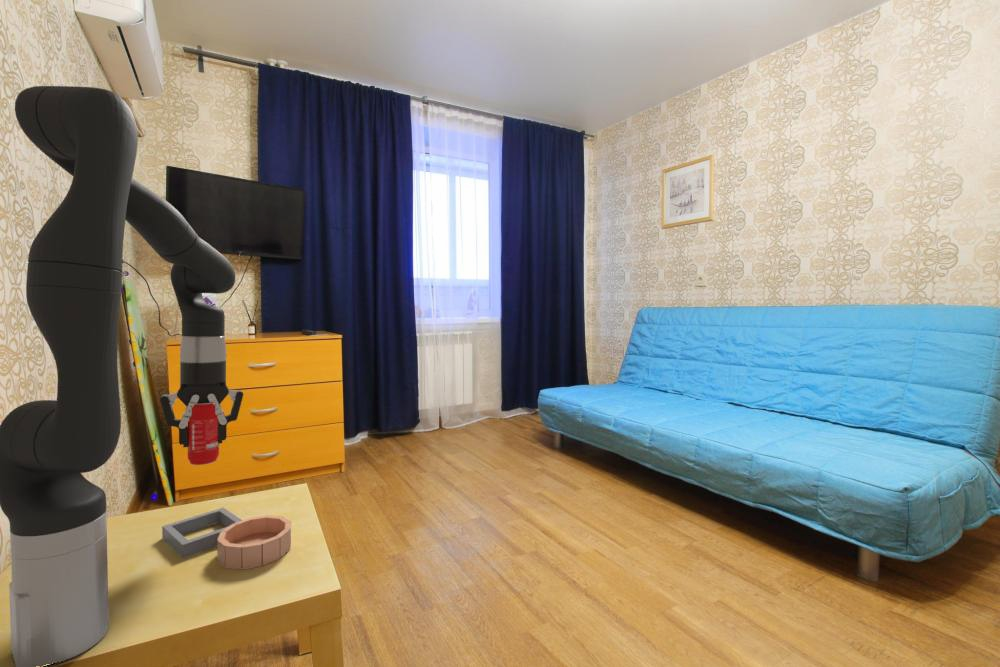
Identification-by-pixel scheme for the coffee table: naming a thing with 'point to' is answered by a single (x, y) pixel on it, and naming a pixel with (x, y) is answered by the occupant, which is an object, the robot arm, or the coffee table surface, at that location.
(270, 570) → the coffee table surface
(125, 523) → the coffee table surface
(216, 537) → the rectangular frame
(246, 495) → the coffee table surface
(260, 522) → the bowl
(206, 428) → the beverage can
